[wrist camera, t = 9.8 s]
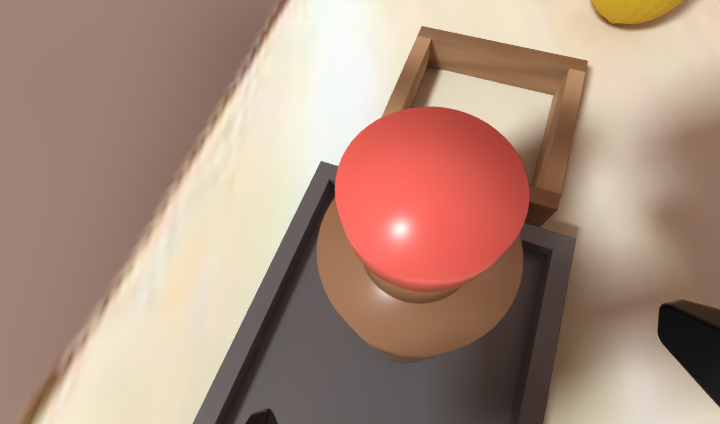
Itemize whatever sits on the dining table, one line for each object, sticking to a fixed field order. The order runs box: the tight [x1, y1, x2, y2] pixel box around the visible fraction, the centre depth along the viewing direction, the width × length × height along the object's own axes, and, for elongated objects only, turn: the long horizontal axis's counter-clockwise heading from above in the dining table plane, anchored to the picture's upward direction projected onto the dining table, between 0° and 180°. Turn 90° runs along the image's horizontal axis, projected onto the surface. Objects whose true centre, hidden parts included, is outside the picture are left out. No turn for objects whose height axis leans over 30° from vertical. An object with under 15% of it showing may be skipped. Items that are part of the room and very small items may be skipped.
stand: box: [382, 26, 588, 226], centre depth 20 cm, size 9×9×2 cm
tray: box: [193, 161, 576, 424], centre depth 15 cm, size 16×12×2 cm
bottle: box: [317, 107, 529, 363], centre depth 11 cm, size 5×5×12 cm
